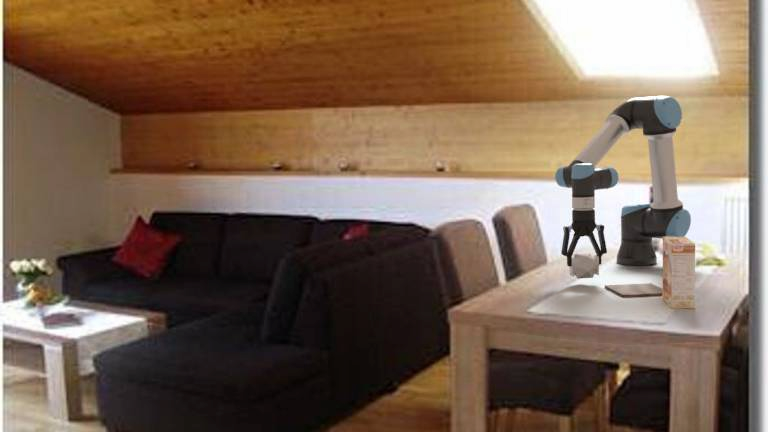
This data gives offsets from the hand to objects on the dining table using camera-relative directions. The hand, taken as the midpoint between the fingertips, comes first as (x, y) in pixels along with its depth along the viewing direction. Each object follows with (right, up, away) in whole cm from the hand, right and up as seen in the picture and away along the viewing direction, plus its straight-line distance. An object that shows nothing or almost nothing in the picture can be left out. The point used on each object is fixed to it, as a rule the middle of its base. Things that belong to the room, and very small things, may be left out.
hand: (584, 274), depth 277 cm
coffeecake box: (+20, -6, -32) cm, 39 cm away
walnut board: (+14, -4, -14) cm, 20 cm away
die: (0, -1, 0) cm, 1 cm away
